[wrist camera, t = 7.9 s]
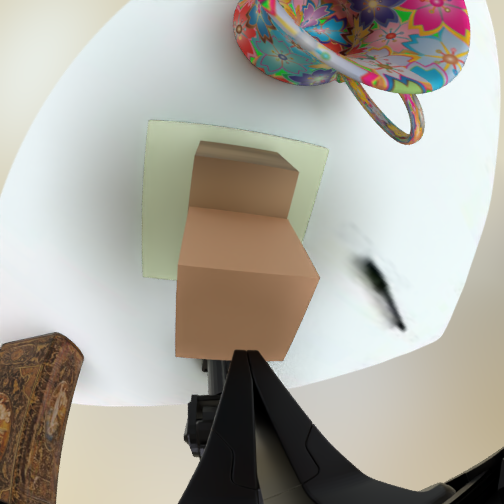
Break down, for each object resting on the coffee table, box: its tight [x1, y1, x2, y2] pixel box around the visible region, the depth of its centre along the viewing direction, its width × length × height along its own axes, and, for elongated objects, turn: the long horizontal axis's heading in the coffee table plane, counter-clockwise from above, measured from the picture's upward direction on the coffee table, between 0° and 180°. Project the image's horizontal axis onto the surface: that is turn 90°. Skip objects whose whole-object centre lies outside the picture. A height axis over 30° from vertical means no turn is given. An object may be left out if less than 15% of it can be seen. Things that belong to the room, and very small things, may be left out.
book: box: [0, 332, 84, 504], centre depth 15 cm, size 16×6×25 cm, turn 105°
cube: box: [175, 206, 320, 361], centre depth 12 cm, size 5×5×5 cm
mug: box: [233, 0, 470, 145], centre depth 9 cm, size 12×9×11 cm
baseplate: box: [142, 120, 329, 281], centre depth 19 cm, size 12×12×1 cm
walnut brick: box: [187, 140, 299, 219], centre depth 17 cm, size 10×5×5 cm, turn 169°
